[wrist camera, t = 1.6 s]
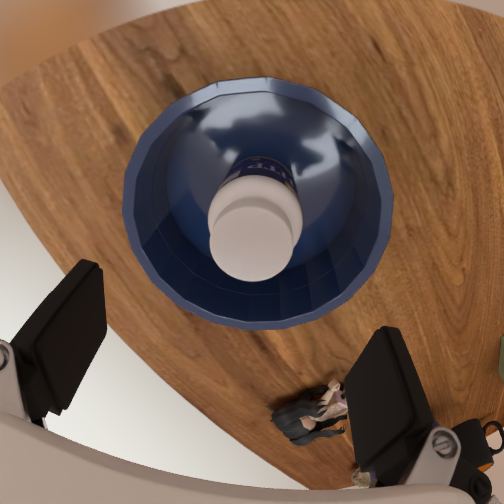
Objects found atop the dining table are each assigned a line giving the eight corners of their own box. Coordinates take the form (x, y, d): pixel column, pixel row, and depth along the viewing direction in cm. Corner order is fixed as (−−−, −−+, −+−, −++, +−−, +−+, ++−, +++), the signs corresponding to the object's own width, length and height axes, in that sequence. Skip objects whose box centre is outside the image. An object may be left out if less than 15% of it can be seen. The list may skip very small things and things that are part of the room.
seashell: (367, 439, 46) (335, 475, 46) (382, 462, 39) (346, 499, 39) (405, 449, 47) (375, 482, 47) (420, 469, 40) (387, 503, 40)
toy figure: (367, 345, 30) (261, 405, 35) (386, 393, 25) (266, 449, 30) (392, 367, 33) (296, 420, 38) (409, 409, 28) (302, 459, 33)
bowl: (176, 65, 19) (140, 58, 13) (389, 119, 19) (430, 132, 14) (150, 253, 26) (120, 299, 20) (324, 293, 27) (335, 346, 21)
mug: (496, 416, 40) (511, 455, 31) (446, 445, 44) (457, 486, 35) (493, 403, 37) (511, 447, 28) (438, 435, 41) (450, 481, 32)
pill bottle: (310, 182, 22) (331, 236, 14) (269, 235, 24) (266, 309, 16) (248, 140, 21) (233, 171, 13) (210, 198, 23) (177, 258, 15)
